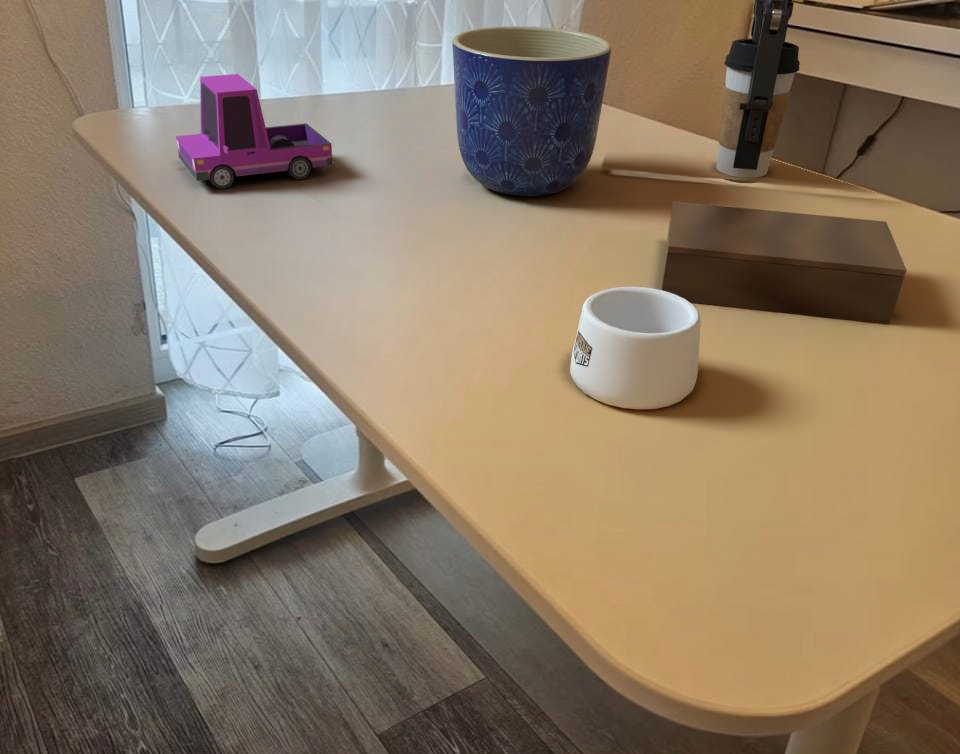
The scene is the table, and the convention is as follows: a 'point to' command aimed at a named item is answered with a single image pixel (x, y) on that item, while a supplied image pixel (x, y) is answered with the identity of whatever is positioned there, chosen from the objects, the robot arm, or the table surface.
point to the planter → (528, 105)
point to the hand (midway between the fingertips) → (744, 157)
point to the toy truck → (246, 137)
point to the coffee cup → (737, 93)
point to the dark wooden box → (783, 262)
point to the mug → (636, 348)
